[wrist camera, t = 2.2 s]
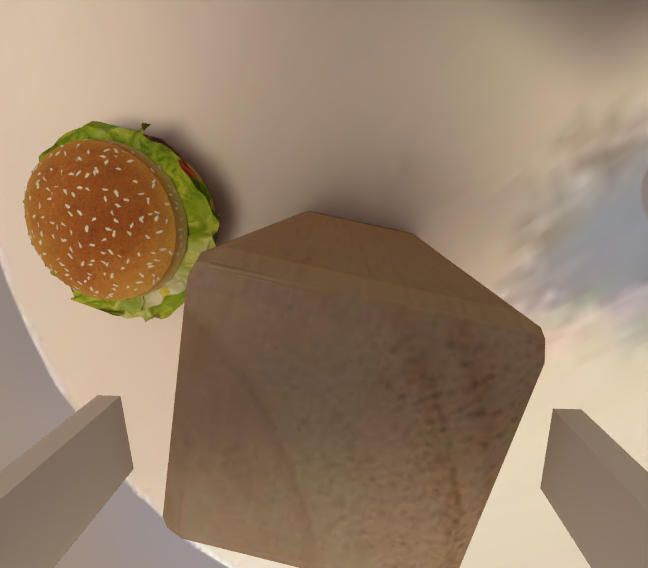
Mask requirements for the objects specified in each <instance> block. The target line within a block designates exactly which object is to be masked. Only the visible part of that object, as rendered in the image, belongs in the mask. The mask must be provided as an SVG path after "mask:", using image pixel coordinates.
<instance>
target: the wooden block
mask: <svg viewBox="0 0 648 568" xmlns="http://www.w3.org/2000/svg"><path fill="white" fill-rule="evenodd" d="M544 361H545V338H544V335H543V333H542V330H541V328H540V327H539V326H538V325H537V324H535V323H534V322H532V321H531V320H530V319H528V318H527V317H526V316H524V315H523V314H522V313H520V312H519V311H517V310H516V309H515V308H513V307H512V306H511V305H509V304H508V303H507V302H505V301H504V300H502V299H501V298H500V297H498V296H497V295H496V294H494V293H493V292H491V291H490V290H489V289H487V288H486V287H485V286H483V285H482V284H481V283H479V282H478V281H476V280H475V279H474V278H472V277H471V276H470V275H468V274H467V273H466V272H464V271H463V270H461V269H460V268H459V267H457V266H456V265H455V264H453V263H452V262H450V261H449V260H448V259H446V258H445V257H444V256H442V255H441V254H440V253H438V252H437V251H435V250H434V249H433V248H431V247H430V246H429V245H427V244H426V243H425V242H423V241H422V240H420V239H419V238H418V237H416V236H415V235H413V234H411V233H406V232H401V231H397V230H392V229H387V228H383V227H378V226H374V225H369V224H364V223H360V222H355V221H350V220H346V219H341V218H336V217H332V216H327V215H322V214H318V213H313V212H307V213H302V214H298V215H296V216H293V217H291V218H288V219H286V220H283V221H280V222H278V223H275V224H273V225H270V226H267V227H265V228H262V229H260V230H257V231H255V232H252V233H249V234H247V235H244V236H242V237H239V238H237V239H234V240H231V241H229V242H226V243H224V244H221V245H218V246H216V247H213V248H211V249H208V250H206V251H203V252H201V253H200V255H199V257H198V258H197V260H196V262H195V264H194V265H193V267H192V269H191V271H190V272H189V274H188V279H187V285H186V295H185V305H184V314H183V324H182V334H181V344H180V354H179V363H178V373H177V383H176V393H175V403H174V413H173V422H172V432H171V442H170V452H169V462H168V471H167V481H166V491H165V501H164V511H163V518H164V521H165V523H166V525H167V528H169V529H170V530H172V531H173V532H174V533H175V534H177V535H178V536H179V537H181V538H182V539H186V540H190V541H194V542H199V543H203V544H207V545H211V546H215V547H219V548H223V549H227V550H231V551H235V552H239V553H243V554H247V555H251V556H255V557H259V558H263V559H267V560H271V561H275V562H279V563H283V564H287V565H291V566H295V567H299V568H459V567H460V565H461V562H462V560H463V557H464V555H465V553H466V550H467V548H468V545H469V543H470V541H471V538H472V536H473V533H474V531H475V529H476V526H477V524H478V521H479V519H480V517H481V514H482V512H483V509H484V507H485V505H486V502H487V500H488V497H489V495H490V493H491V490H492V488H493V485H494V483H495V481H496V478H497V476H498V473H499V471H500V469H501V466H502V464H503V461H504V459H505V457H506V454H507V452H508V449H509V447H510V445H511V442H512V440H513V437H514V435H515V433H516V430H517V428H518V425H519V423H520V421H521V418H522V416H523V413H524V411H525V409H526V406H527V404H528V401H529V399H530V397H531V394H532V392H533V389H534V387H535V385H536V382H537V380H538V377H539V375H540V373H541V370H542V368H543V365H544Z"/></svg>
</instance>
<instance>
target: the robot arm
mask: <svg viewBox="0 0 648 568" xmlns="http://www.w3.org/2000/svg"><path fill="white" fill-rule="evenodd" d="M133 469H134V468H133V463H132V457H131V452H130V446H129V441H128V435H127V430H126V424H125V419H124V413H123V408H122V402H121V397H120V396H101V395H98V396H96V397H95V398H94V399H92V400H91V401H90V402H89V403H87V404H86V405H85V406H84V407H82V408H81V409H80V410H78V411H77V412H76V413H75V414H73V415H72V416H71V417H70V418H69V419H67V420H66V421H64V422H63V423H62V424H61V425H59V426H58V427H57V428H56V429H54V430H53V431H52V432H50V433H49V434H48V435H46V436H45V437H44V438H43V439H41V440H40V441H39V442H38V443H37V444H35V445H34V446H32V447H31V448H30V449H29V450H27V451H26V452H25V453H23V455H21V456H20V457H19V458H17V459H16V460H15V461H13V462H12V463H11V464H10V465H8V466H7V467H6V468H4V469H3V470H2V471H1V472H0V568H54V567H55V566H56V565H57V563H58V562H59V561H60V559H61V558H62V557H63V555H65V553H66V552H67V551H68V550H69V548H70V547H71V546H72V544H73V543H74V542H75V541H76V540H77V538H78V537H79V536H80V534H81V533H82V532H83V531H84V530H85V528H86V527H87V526H88V525H89V523H90V522H91V521H92V520H93V519H94V517H95V516H96V515H97V513H98V512H99V511H100V510H101V509H102V507H103V506H104V505H105V504H106V502H107V501H108V500H109V499H110V497H111V496H112V495H113V494H114V492H115V491H116V490H117V489H118V487H119V486H120V485H121V484H122V482H123V481H124V480H125V479H126V477H127V476H128V475H129V474H130V473H131V471H132V470H133ZM541 490H542V491H543V493H544V494H545V496H546V497H547V499H548V501H549V502H550V504H551V505H552V507H553V508H554V510H555V512H556V513H557V515H558V516H559V518H560V519H561V521H562V523H563V524H564V526H565V527H566V529H567V530H568V532H569V534H570V535H571V537H572V538H573V540H574V541H575V543H576V545H577V546H578V548H579V549H580V551H581V552H582V554H583V556H584V557H585V559H586V560H587V562H588V563H589V565H590V566H591V568H648V472H647V471H646V470H645V469H644V468H643V467H642V466H641V465H640V464H639V463H638V462H636V461H635V460H634V459H633V458H632V457H631V456H630V455H629V454H628V453H627V452H626V451H625V450H624V449H623V448H622V447H621V446H619V445H618V444H617V443H616V442H615V441H614V440H613V439H612V438H611V437H610V436H609V435H608V434H607V433H606V432H605V431H604V430H602V429H601V428H600V427H599V426H598V425H597V424H596V423H595V422H594V421H593V420H592V419H591V418H590V417H589V416H588V415H587V414H585V413H584V412H583V411H582V410H580V409H553V412H552V419H551V425H550V431H549V438H548V444H547V450H546V456H545V463H544V469H543V475H542V482H541Z"/></svg>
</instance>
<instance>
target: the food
mask: <svg viewBox="0 0 648 568" xmlns="http://www.w3.org/2000/svg"><path fill="white" fill-rule="evenodd" d="M141 125H142V128H141V129H140V130H139V131H136V130H131V129H126V128H121V127H117V126H113V125H109V124H105V123H101V122H95V121H92V122H90V123H88V124H86V125H84V126H83V127H81V128H78V129H75V130H72V131H70V132H68V133H66V134H64V135H63V136H62V137H60V138H59V139H58V140H57V142H56V143H55V145H54V146H53V147H51V148H49V149H48V150H46V151H45V152H43V153H42V154H41V155H40V156H39V163H38V165H37V166H36V167H35V169H34V171H32V175H31V177H30V179H29V181H28V185H27V190H26V191H25V199H24V201H23V202H24V208H25V219H26V223H27V224H26V225H27V228H28V232H29V233H28V235H29V236H30V239H31V244H32V245H33V246H34V247H35V249H36V251H37V253H38V254H39V256H40V257H41V259H42V260H43V262H44V263H45V266H47V267H48V268H49V269H50V270H51V274H52V275H54V276H56V277H58V278H59V279H60V280H61V281H63V282H64V283H65V284H66V285H68V286H70V287H71V289H72V292H73V294H74V298H71V300H74V301H77V302H79V303H82V304H85V305H88V306H91V307H93V308H96V309H99V310H102V311H105V312H107V313H110V314H112V315H116V316H122V317H124V318H134V317H139V316H141V317H143V318H144V320H145V322H146V321H148V320H150V319H152V318H154V317H156V318H161V319H163V318H167V317H168V316H170V315H171V314H172V313H173V312H174V311H175V310H176V309H177V308H178V307H179V306H180V305H181V304H182V303H183V302H184V301H185V295H186V285H187V279H188V274H189V272H190V271H191V269H192V267H193V265H194V264H195V262H196V260H197V258H198V257H199V255H200V253H201V252H203V251H206V250H208V249H211V248H213V247H216V244H215V239H217V231H218V228H219V222H218V219H219V217H220V216H221V214H218V213H217V212H215V207H214V202H213V200H212V198H211V194H210V192H209V190H208V188H207V187H206V185H205V184H204V182H203V180H202V178H201V177H200V175H199V174H198V173H197V172H196V170H195V169H194V168H193V167H192V166H191V165H190V164H189V163H187V162H186V161H185V160H184V159H182V158H181V156H180V155H179V154H178V153H177V152H176V151H175V150H173V149H172V148H171V147H170V146H169V145H168V144H166V143H165V142H164V141H163V140H162V139H159V138H155V137H152V136H148V135H145V134H143V131H144V130H145V129H146V128H147V127H148V126H150V125H151V124H146V123H142V124H141Z"/></svg>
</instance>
